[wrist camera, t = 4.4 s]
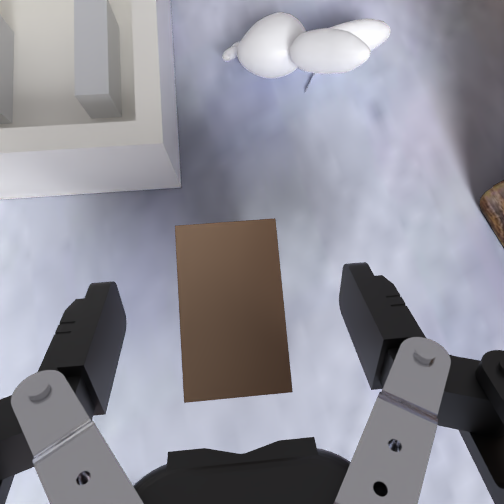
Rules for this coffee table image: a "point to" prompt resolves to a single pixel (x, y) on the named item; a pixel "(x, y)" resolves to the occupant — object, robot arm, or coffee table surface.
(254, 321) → the brown rectangular block
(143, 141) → the white square tray
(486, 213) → the book
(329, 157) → the coffee table surface
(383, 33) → the rabbit figurine
